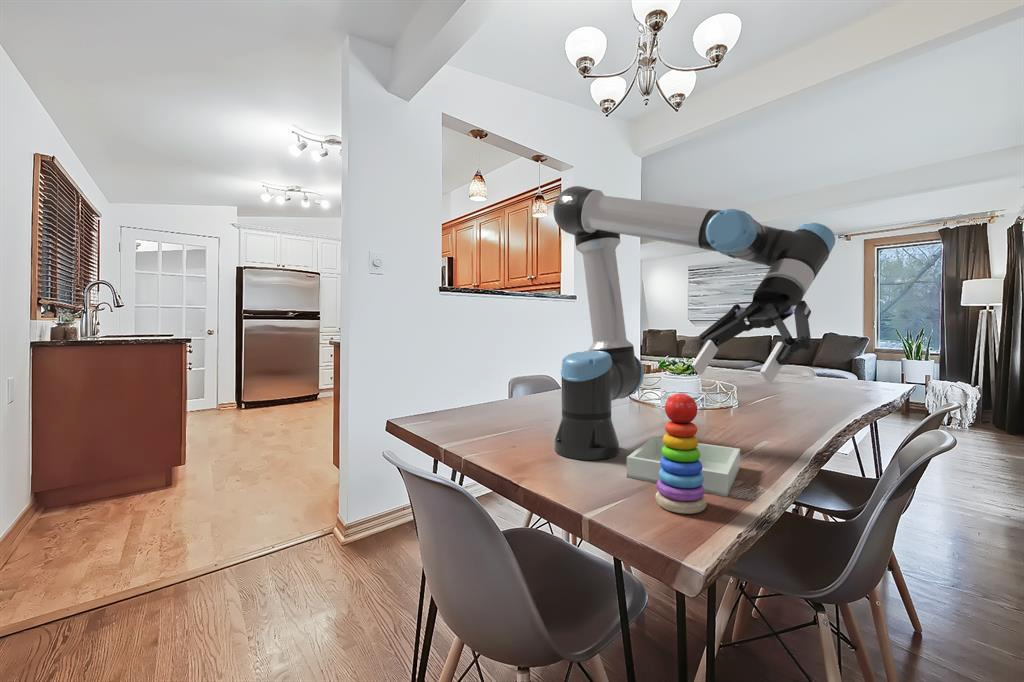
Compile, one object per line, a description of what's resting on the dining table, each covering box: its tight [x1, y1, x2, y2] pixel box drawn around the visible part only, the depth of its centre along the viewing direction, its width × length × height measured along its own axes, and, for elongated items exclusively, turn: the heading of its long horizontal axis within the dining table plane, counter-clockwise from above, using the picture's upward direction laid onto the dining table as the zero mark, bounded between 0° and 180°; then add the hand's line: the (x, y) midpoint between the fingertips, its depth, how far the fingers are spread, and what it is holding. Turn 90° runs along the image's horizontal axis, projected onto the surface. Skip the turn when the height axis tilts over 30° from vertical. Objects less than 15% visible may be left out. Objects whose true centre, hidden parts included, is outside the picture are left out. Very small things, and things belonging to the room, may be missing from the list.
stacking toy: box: [655, 393, 708, 515], centre depth 72 cm, size 8×8×19 cm
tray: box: [626, 436, 741, 498], centre depth 88 cm, size 18×18×4 cm
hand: (728, 373), depth 76 cm, fingers open, 13 cm apart
